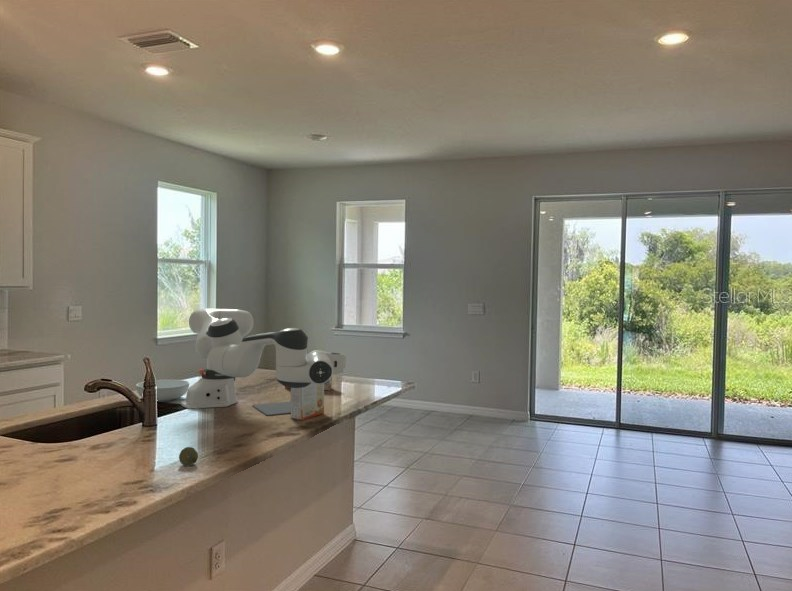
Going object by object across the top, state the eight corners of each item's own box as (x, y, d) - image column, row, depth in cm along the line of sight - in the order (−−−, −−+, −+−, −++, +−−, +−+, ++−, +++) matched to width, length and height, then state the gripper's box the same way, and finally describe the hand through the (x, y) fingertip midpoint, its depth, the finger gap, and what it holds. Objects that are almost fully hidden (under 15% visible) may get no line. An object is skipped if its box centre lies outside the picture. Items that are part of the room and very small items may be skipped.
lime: (200, 464, 166) (200, 447, 166) (184, 468, 163) (184, 450, 163) (192, 461, 169) (192, 443, 169) (176, 464, 166) (176, 447, 166)
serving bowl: (188, 393, 261) (188, 378, 261) (189, 403, 241) (190, 387, 241) (136, 395, 253) (137, 379, 253) (134, 406, 234) (134, 389, 234)
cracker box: (312, 411, 234) (313, 359, 233) (324, 413, 231) (325, 360, 230) (288, 418, 222) (290, 363, 221) (301, 420, 219) (302, 364, 218)
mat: (266, 416, 224) (266, 414, 224) (252, 406, 240) (252, 405, 240) (315, 411, 235) (315, 409, 235) (298, 402, 250) (298, 400, 250)
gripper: (286, 373, 194) (286, 366, 208) (347, 372, 198) (343, 365, 212) (286, 354, 194) (286, 348, 208) (348, 354, 198) (344, 348, 211)
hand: (315, 356), depth 210 cm, fingers open, 8 cm apart
